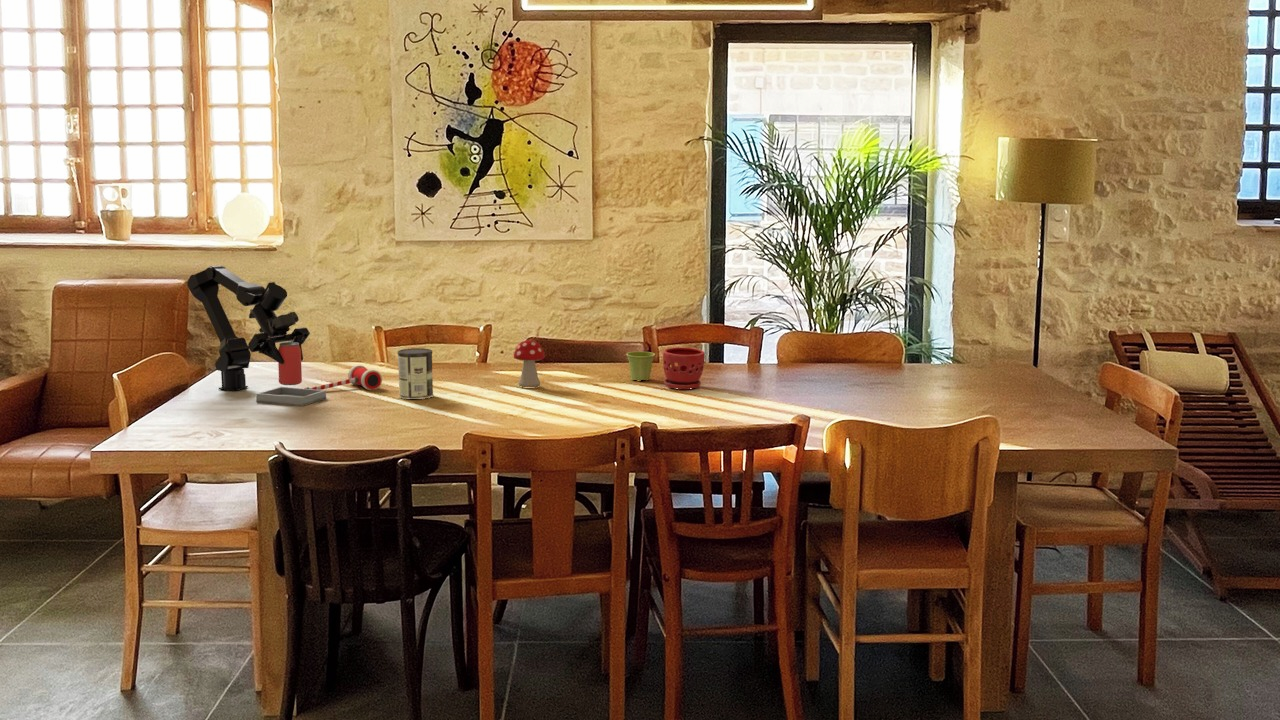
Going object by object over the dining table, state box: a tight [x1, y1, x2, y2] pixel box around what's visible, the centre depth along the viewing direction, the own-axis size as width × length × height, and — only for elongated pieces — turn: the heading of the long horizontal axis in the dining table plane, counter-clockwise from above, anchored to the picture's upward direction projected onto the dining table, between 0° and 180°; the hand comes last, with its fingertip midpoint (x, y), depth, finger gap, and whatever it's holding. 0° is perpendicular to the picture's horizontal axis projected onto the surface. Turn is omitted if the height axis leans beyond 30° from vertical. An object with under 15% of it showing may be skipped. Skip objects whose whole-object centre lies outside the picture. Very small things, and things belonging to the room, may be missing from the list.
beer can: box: [277, 341, 303, 386], centre depth 378 cm, size 7×7×12 cm
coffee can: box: [397, 347, 434, 400], centre depth 385 cm, size 10×10×14 cm
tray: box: [255, 386, 327, 407], centre depth 379 cm, size 16×12×2 cm
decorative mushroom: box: [513, 339, 546, 387], centre depth 401 cm, size 10×9×15 cm
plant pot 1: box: [625, 351, 656, 382], centre depth 416 cm, size 9×9×9 cm
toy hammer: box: [303, 364, 383, 391], centre depth 396 cm, size 23×12×6 cm, turn 126°
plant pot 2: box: [662, 346, 706, 389], centre depth 403 cm, size 13×13×12 cm
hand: (292, 361), depth 377 cm, fingers closed on beer can, 6 cm apart
